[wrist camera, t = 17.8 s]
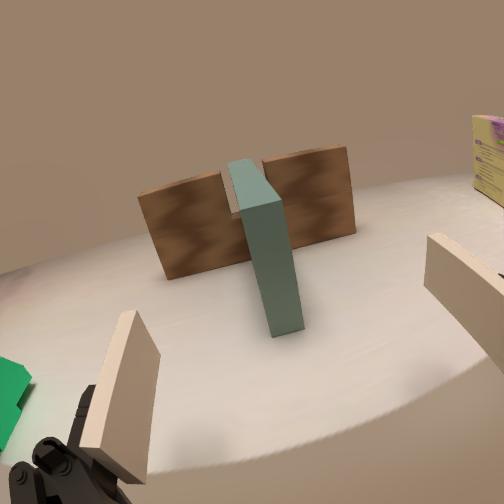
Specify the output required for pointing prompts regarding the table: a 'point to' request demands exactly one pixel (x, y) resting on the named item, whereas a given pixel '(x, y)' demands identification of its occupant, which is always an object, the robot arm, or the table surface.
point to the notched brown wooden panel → (230, 224)
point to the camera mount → (10, 396)
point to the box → (489, 156)
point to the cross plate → (268, 247)
